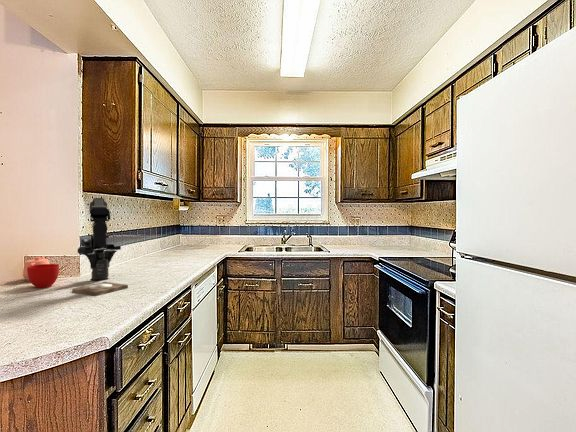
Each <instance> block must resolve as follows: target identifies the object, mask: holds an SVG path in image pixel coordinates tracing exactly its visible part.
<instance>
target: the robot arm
mask: <svg viewBox="0 0 576 432" xmlns="http://www.w3.org/2000/svg"><path fill="white" fill-rule="evenodd" d="M89 215H90V220H89V221H90V222H93V223H92V235H91V236H90V239H87V238H82V239H81V240H80V242H81V243H80V244H81V246H79V247H78V248H77V254H81V255H84V256H85V257H86V258H87V259H88V261H89V265H90V266H89V267H90V270H92V268H95V262H96V254H95V252H106V256H105V257H106V258H108V268H110V263H111V261H112V259H113V258H114V255H115V254H116V253H117V252H118V251H119V250H122V249H121V248H122V246H121V245H120V243H113V242H112V243H108V238H109V235H107V231H108V225H107V222H109V221H110V220H111V211H110V209H109V208H108V203H107V202H106V201H105V198H104V197H94V198H92V201H90V202H89ZM90 275H92V271H91V274H90ZM108 279H110V278H109V277H107V278H103V279H93V277H92V276H91V278H90V281H97V282H99V281H103V280H108Z"/></svg>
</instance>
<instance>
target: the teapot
mask: <svg viewBox="0 0 576 432" xmlns="http://www.w3.org/2000/svg"><path fill="white" fill-rule="evenodd" d="M41 264H51V263H50V261H49V259H48V258H45V255H42V256H41V257H40V256H34V257H33V259H28V260H26V261H25V263H24V266H23V270H22V271H23V272H22V277H23V278H24V279H25V280H26V282H30V280H29V278H28V273H27V267H29V266H33V265H41Z"/></svg>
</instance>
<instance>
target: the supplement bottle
mask: <svg viewBox="0 0 576 432" xmlns="http://www.w3.org/2000/svg"><path fill="white" fill-rule="evenodd" d="M95 254H96V262H95V268H92V269H91V272H92V274H91V278H92V277H93V279H103V278H109V274H110V273H109V268H110V267H108V258H106V257H105V256H106V252H95Z"/></svg>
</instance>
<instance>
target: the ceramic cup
mask: <svg viewBox="0 0 576 432" xmlns="http://www.w3.org/2000/svg"><path fill="white" fill-rule="evenodd" d="M59 271H60V265H59V264H57V263H50V264H41V265H33V266H29V267H27V273H28V278H29V280H30V281H29V282H30V283H31V285H33V286H34V287H35V288H36V289H43V288H44V289H45V288H50V287H52V286H53V284H55V282H56V281H57V280H58V277H59V273H60V272H59Z"/></svg>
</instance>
